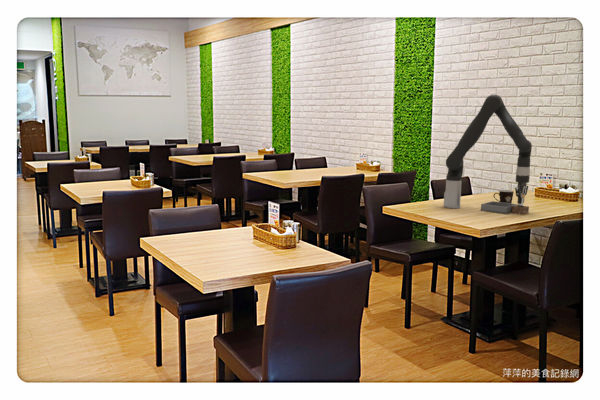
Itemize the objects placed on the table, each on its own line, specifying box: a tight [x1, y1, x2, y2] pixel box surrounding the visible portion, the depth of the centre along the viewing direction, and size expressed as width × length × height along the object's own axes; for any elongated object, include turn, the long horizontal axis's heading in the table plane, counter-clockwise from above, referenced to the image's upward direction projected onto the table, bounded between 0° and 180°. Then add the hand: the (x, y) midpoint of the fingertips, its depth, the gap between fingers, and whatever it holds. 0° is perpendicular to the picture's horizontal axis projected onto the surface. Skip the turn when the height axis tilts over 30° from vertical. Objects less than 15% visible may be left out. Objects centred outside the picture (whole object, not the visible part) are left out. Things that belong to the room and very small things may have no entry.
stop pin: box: [517, 194, 525, 207], centre depth 326 cm, size 3×3×10 cm
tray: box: [480, 200, 518, 215], centre depth 334 cm, size 16×15×4 cm
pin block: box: [511, 204, 530, 216], centre depth 326 cm, size 7×7×4 cm
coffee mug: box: [493, 189, 515, 204], centre depth 349 cm, size 12×9×10 cm
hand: (520, 203), depth 326 cm, fingers closed on stop pin, 3 cm apart
